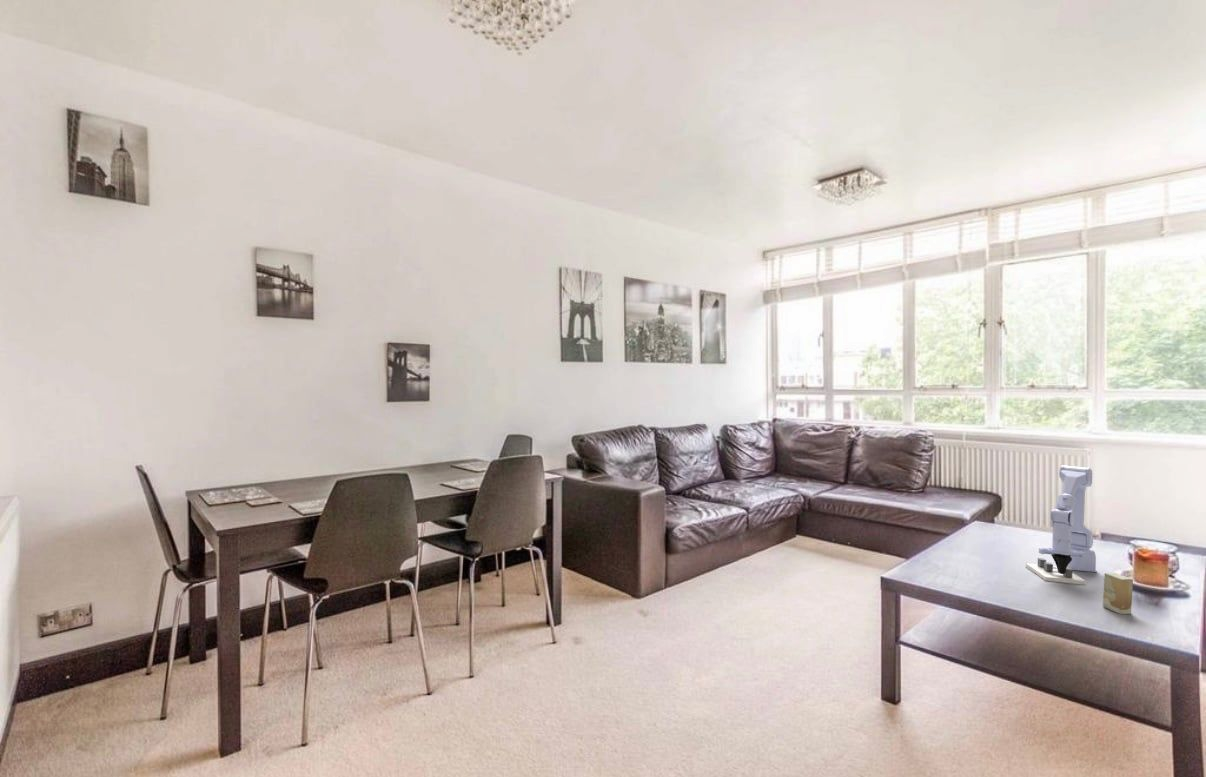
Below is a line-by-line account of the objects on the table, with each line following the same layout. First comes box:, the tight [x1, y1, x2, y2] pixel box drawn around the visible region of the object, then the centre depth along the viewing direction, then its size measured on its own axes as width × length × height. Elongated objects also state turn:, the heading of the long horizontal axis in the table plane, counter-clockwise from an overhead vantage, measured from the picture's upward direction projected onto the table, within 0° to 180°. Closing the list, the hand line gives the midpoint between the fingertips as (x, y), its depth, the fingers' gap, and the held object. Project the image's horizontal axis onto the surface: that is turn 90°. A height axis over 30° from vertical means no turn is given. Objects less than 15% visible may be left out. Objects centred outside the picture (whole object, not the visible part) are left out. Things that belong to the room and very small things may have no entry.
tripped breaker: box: [1063, 568, 1073, 578], centre depth 214 cm, size 2×2×3 cm
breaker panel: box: [1025, 557, 1086, 585], centre depth 220 cm, size 13×17×5 cm
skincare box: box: [1102, 572, 1134, 615], centre depth 186 cm, size 6×4×12 cm
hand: (1061, 573), depth 214 cm, fingers closed
